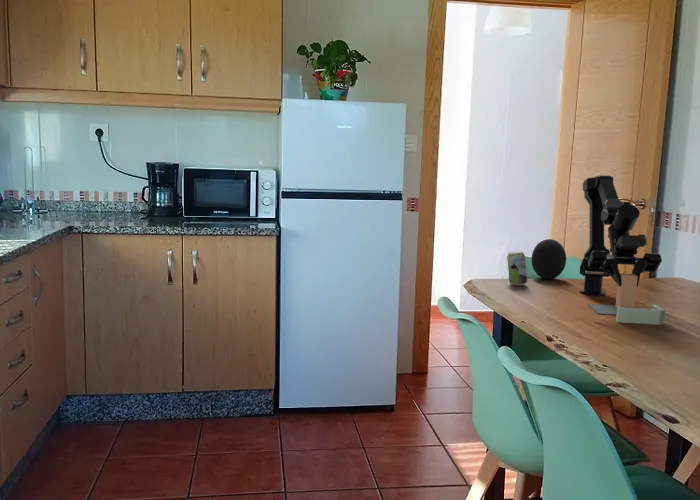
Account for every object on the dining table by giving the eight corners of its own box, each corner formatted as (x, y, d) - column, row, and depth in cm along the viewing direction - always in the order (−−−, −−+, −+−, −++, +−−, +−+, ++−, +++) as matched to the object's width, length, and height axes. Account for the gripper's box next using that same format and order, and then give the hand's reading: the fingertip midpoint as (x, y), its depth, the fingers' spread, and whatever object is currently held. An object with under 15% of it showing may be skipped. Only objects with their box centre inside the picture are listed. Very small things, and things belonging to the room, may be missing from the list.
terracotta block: (615, 305, 175) (618, 273, 174) (630, 306, 175) (633, 273, 173) (619, 308, 172) (622, 275, 170) (634, 309, 171) (637, 276, 170)
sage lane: (610, 316, 177) (611, 302, 176) (654, 318, 175) (656, 304, 174) (617, 322, 170) (618, 308, 169) (663, 324, 168) (665, 310, 168)
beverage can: (527, 287, 214) (530, 253, 212) (505, 286, 215) (508, 252, 213) (526, 284, 220) (528, 250, 218) (505, 282, 221) (507, 249, 220)
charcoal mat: (587, 304, 190) (587, 303, 190) (628, 306, 189) (628, 305, 189) (597, 314, 178) (597, 313, 178) (641, 316, 177) (641, 315, 177)
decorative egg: (530, 280, 226) (533, 240, 224) (529, 274, 238) (532, 236, 236) (565, 283, 223) (569, 242, 221) (563, 277, 235) (566, 238, 233)
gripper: (594, 222, 175) (601, 267, 166) (663, 225, 172) (674, 271, 163) (584, 246, 184) (591, 290, 175) (650, 248, 181) (660, 293, 172)
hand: (628, 285), depth 171 cm, fingers closed on terracotta block, 4 cm apart
